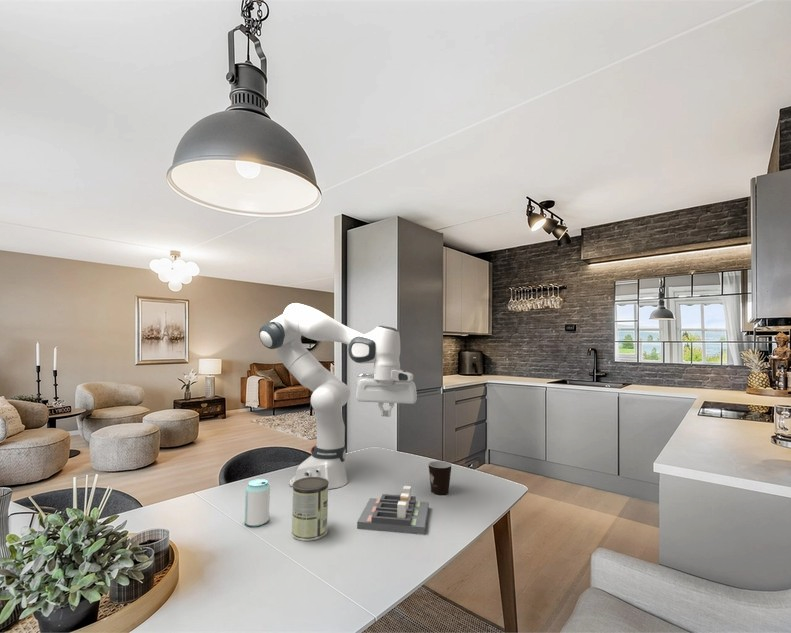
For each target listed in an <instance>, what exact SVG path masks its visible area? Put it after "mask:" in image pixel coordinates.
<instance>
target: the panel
mask: <svg viewBox="0 0 791 633" xmlns="http://www.w3.org/2000/svg"><path fill="white" fill-rule="evenodd" d="M400 497H401V494H400V495H398V494H386V493H382V495H381V496H380V498H376V497H375V498H374V497H370V498H368V502H367V503H366V505H365V507H364V509H363V510H362V512H361V514H360V516H359V518H358V519H357V521H356V525H357V526H356V528H357V529H358V530H359V529H360V530H366V531H367V530H368V531H370V530H371V531H382V532H392V533H403V534H404V533H405V534H416V535H425V533H426V527H427V519H428V513H429V502H428V501H418V500H416V499H417V497H416V496H414V495H413V496H412V495H411V501H409V509H406V519H405V518H397V504H398V501H400Z"/></svg>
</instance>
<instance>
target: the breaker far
mask: <svg viewBox="0 0 791 633" xmlns="http://www.w3.org/2000/svg"><path fill="white" fill-rule="evenodd" d="M402 493H406V494H409V501H411V496H412V486H410V485H403V488H402Z"/></svg>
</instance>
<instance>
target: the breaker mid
mask: <svg viewBox="0 0 791 633" xmlns="http://www.w3.org/2000/svg"><path fill="white" fill-rule="evenodd" d="M400 495H401V497H400V501H401V502H406V509H409V494H406V493H403V492H402V493H401V494H400Z"/></svg>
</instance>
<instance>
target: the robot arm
mask: <svg viewBox="0 0 791 633" xmlns="http://www.w3.org/2000/svg"><path fill="white" fill-rule="evenodd" d="M258 337H259V340H260V342H261V343H262V345H263V346H264V347H265V348H267V349H269V350H275V349H276V355H277V357H278V358H279V359H280V362H282V365H284V367H285V368H286V369H287V371H288V372H289V373H290V374H291V375H292V376H293V377H294V378H295V380H296V381H297V382H298V383H299V384H300V385H302V386H303V387H305V388H307V389H308V390H309V391H311V392H312V394H311V397H310V405H311V407H312V409H313V412H314V418H315V424H316V439H315V440H316V441H315V442H316V443H315V444H314V445H313V446H312V447H311V449H310V453H311V455H310V456H308V457H307V458H306V459H305V460H304V461H302V462H301V463H300V464H299V465H298V466H297V469H296V471H295V475H293V477H292V478H290V480H289V484H288V486H289V487H293V483H294V482H295V481H297V480H299V479H302V478H307V477H321V478H324V479H327V480H328V482H329V485H328V490H331V489H337V488H341V487H344V486H345V485H347V484H348V483H349V480H348V475H347V471H346V462H345V461H346V455H347V452H346V451H347V450H346V445H345V440H346V439H345V435H346V434H345V433H346V430H345V429H346V425H345V423H344V419H343V413H342V407H343V406H345V405H346V403H347V402H348V401H349V399H350V396H351V391H350V388H349V386H348V385H347V384H346V383H344V382H343V381H342V380H340V379H339V377H337V376H335V375H334V374H333V373H332V372H330V370H328V369H327V368H326V367H324V366H323V364H322V363H320V362H319V360H318V359H317V358H316V357H315V356H314V355H313V354H312V353H311V352H310V350H309V349H308V348H306V347H305V346H304V344H303V342H302V339H305V338H307V339H310V340H312V341H313V340H314V341H317V342H335V343H342V344H345V345H347V346H348V347H347V348H348V349H347V351H348V356H349V357H350V359H351V361H353V362H354V363H358V364H373V373H361V374H359V375H357V376H356V382H355V383H356V386H357V387H356V393H355V394H356V395H355V399H356V400H357V402H360V403H377V404H378V409H379V410H380V411H381V412H380V413H381V417H387V418H388V417H389V418H390V417H391V416H392V410H393V409H394V406H395V404H406V405H407V404H409V405H410V404H411V405H414V404H415V403H416V402H417V399H418V397H417V396H418V394H417V386H416V383H415V382H414V381H413V380H414V374H413V373H411V372H408V371H406V370H404V369H401V362H400V355H401V337H400V332H399V330H398V329H397V328H395V327H392V326H386V325H378V326H376V327H375V328H374V329H372V330H371V331H369V332H367V333H363V332H362V331H359V330H356V329H354V328H351V327H349V326H347V325H345V324H343V323H341V322H339V321H338V320H336V319H334V318H332V317H331V316H329V315H328V314H326V313H324V312H322V311H320V310H319V309H317V308H315V307H312V306H310V305H306V304H302V303H300V302H299V303H298V302H295V303H294V302H293V303H291V304H289V305H286V307H285V308H284V311H283V313H282V314H280V315H279V316H277V317H275V318H274V319H272V320H270V321H268V322H266V323H265V324H263V325H262V326H261V327H260V328H259V330H258ZM384 403H385V404H389V406H388V407H389V409H388V410H386V409H384V407H383V406H384ZM347 404H348V403H347Z"/></svg>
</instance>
